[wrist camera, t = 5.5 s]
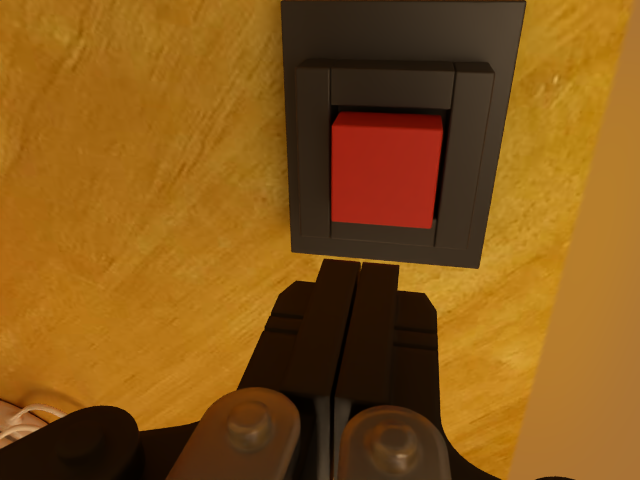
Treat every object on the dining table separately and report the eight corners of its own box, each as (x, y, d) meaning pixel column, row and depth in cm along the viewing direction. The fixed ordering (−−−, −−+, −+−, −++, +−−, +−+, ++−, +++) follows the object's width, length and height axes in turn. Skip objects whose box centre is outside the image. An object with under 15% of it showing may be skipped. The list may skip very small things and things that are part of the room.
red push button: (294, -3, 18) (265, 3, 15) (515, -3, 17) (538, 4, 14) (301, 229, 23) (280, 274, 20) (474, 243, 22) (483, 294, 19)
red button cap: (339, 110, 17) (331, 124, 15) (441, 114, 16) (443, 129, 14) (338, 201, 18) (331, 222, 17) (430, 207, 18) (431, 230, 16)
